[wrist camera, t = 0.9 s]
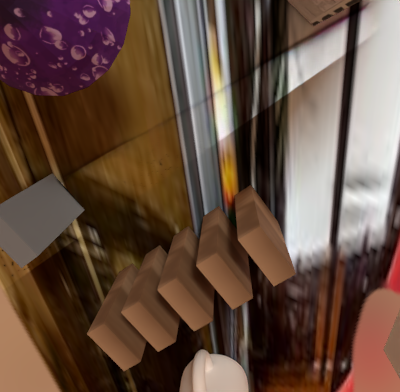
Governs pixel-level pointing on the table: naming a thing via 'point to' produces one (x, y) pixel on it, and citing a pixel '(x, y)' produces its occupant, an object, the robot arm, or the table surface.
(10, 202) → the charcoal domino
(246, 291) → the walnut domino
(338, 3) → the candy bar box
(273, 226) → the walnut domino
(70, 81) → the decorative mushroom
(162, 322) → the walnut domino
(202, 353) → the white oval pot
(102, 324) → the walnut domino
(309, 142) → the table surface
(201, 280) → the walnut domino
